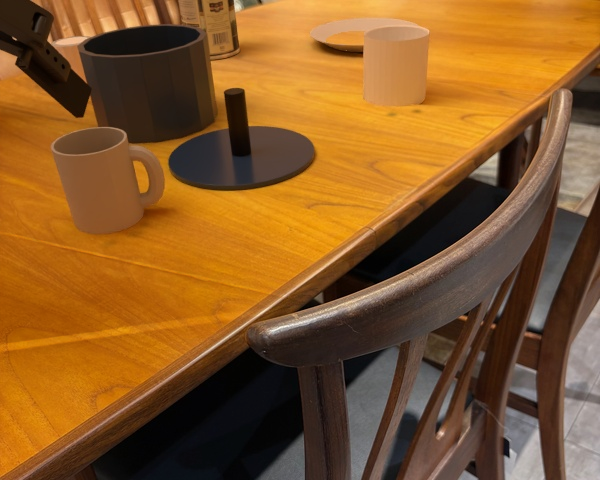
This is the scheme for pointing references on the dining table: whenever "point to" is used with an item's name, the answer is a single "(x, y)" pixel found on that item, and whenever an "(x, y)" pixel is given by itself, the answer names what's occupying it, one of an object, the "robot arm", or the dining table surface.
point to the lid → (241, 153)
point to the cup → (105, 178)
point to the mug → (395, 65)
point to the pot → (151, 81)
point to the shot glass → (71, 52)
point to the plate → (347, 25)
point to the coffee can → (213, 24)
